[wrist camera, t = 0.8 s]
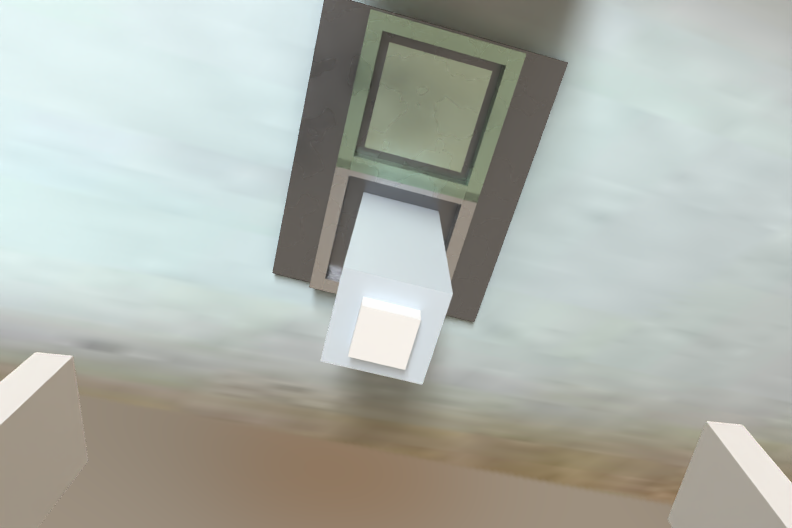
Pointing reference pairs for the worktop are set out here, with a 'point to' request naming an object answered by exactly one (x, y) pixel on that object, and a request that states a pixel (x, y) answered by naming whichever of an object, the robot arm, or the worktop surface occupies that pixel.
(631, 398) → the worktop surface
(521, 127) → the panel
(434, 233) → the plug
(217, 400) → the worktop surface
